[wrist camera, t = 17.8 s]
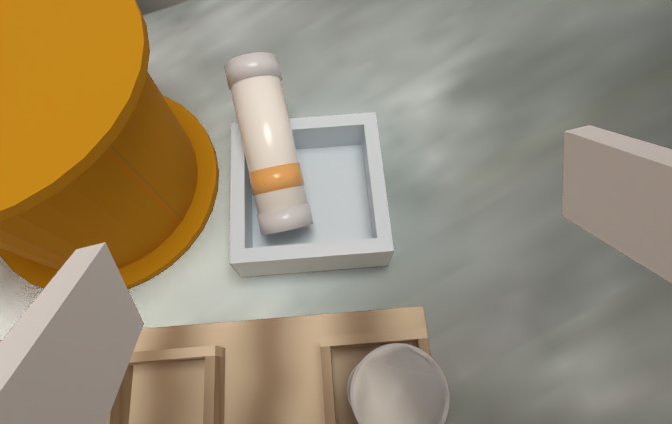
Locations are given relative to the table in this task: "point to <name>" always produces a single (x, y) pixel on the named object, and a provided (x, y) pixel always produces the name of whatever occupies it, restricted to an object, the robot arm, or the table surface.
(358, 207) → the tray
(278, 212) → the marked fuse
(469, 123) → the table surface
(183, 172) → the spool
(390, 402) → the fuse
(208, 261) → the table surface
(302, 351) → the fuse block
